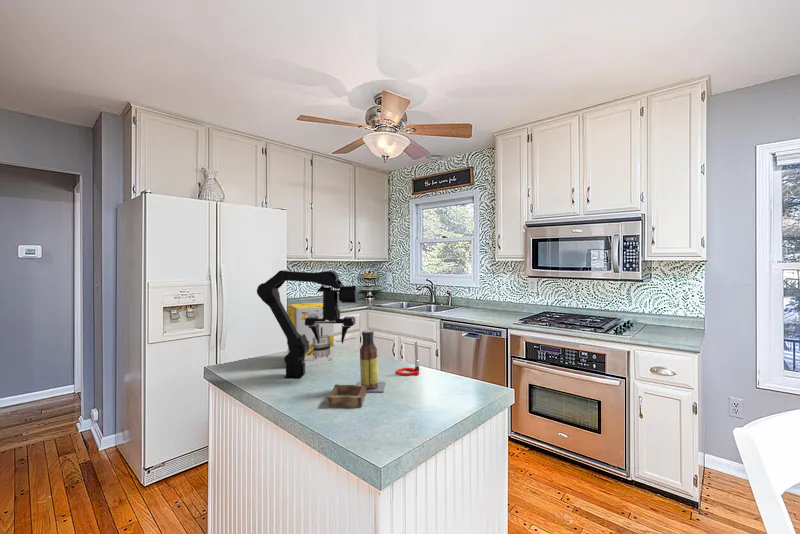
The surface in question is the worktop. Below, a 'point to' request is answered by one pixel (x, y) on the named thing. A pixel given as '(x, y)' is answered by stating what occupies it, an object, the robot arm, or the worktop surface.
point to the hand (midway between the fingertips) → (330, 343)
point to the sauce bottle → (368, 361)
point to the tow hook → (414, 370)
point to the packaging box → (317, 351)
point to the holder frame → (347, 400)
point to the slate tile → (376, 390)
